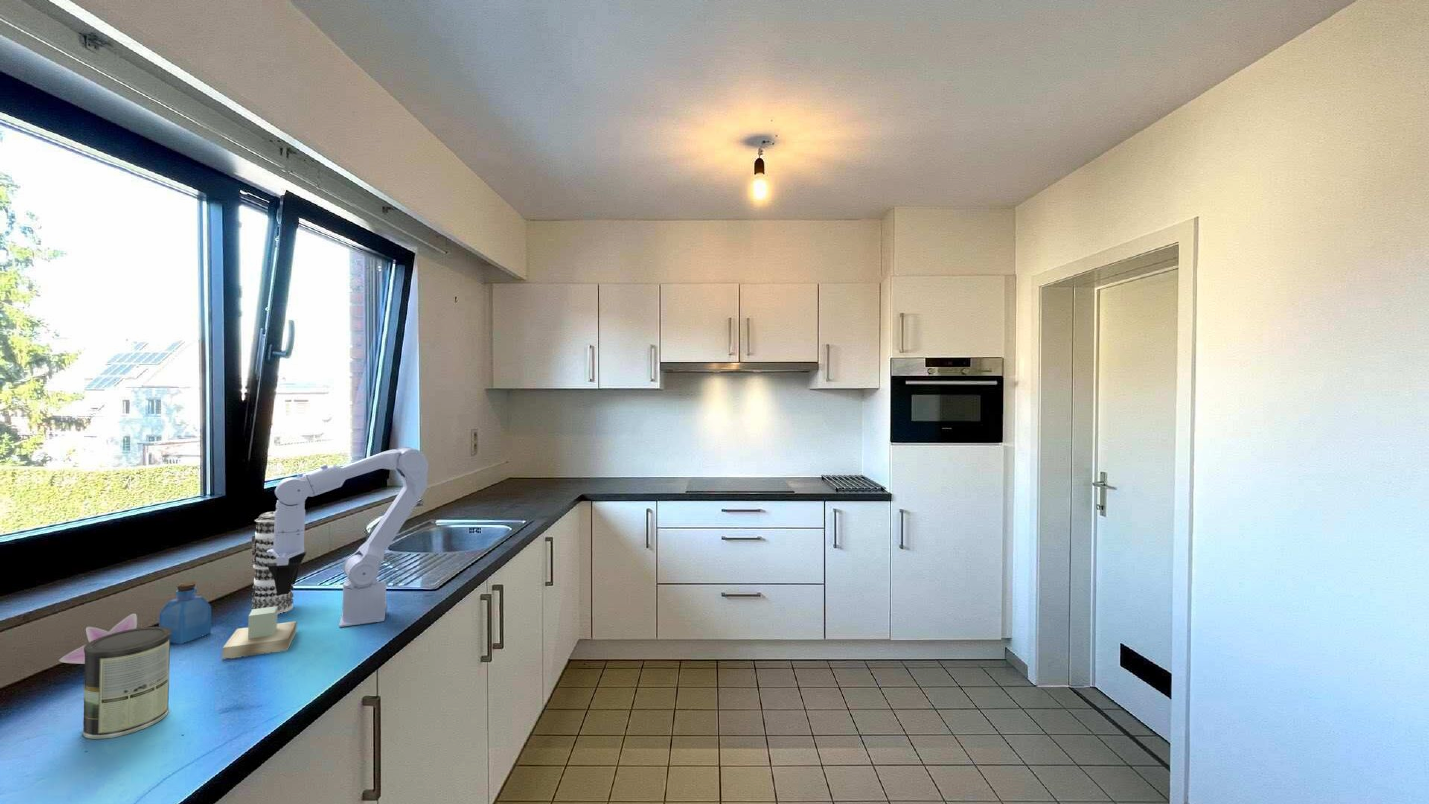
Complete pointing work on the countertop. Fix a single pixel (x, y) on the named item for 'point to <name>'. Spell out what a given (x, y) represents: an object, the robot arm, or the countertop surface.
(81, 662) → the lily
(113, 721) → the coffee can
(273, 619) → the sage block
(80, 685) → the countertop surface
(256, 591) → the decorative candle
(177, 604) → the perfume bottle
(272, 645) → the birch slab
